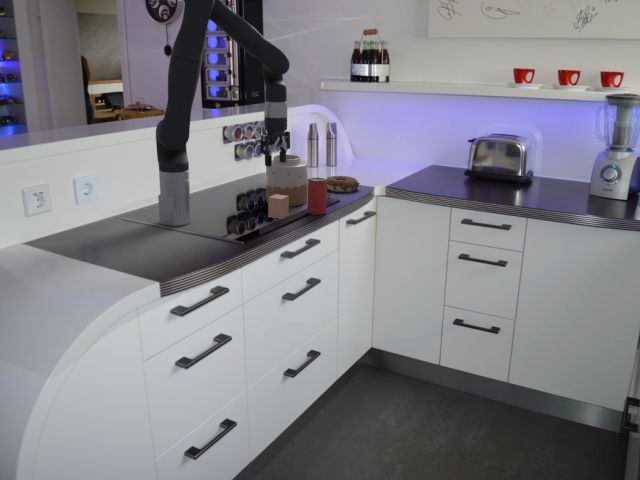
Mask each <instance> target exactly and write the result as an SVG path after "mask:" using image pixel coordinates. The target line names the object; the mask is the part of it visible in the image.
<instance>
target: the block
mask: <svg viewBox="0 0 640 480" xmlns="http://www.w3.org/2000/svg"><path fill="white" fill-rule="evenodd" d="M267 205H268V206H267V210H268V212H267V215H268V216H267V217H268V218H271V217H272V218H271V219H276V218H278V220H283V219H285V218H287V217H289V211H290V210H289V209H290V208H289V207H290V206H289V196H285V195H279V194H275V195H272V196H270V197H268V203H267Z"/></svg>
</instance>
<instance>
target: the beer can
mask: <svg viewBox="0 0 640 480" xmlns="http://www.w3.org/2000/svg"><path fill="white" fill-rule="evenodd" d="M326 179H327V178H323V177H311V178H310V179H309V182H308V183H307V212H308V214H310V215H313V216H322V215H324V214H326V213H327V201H328V199H327V198H328V189H327V183H326Z"/></svg>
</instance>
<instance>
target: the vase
mask: <svg viewBox="0 0 640 480" xmlns="http://www.w3.org/2000/svg"><path fill="white" fill-rule="evenodd" d="M308 174H309V165H308V162H307V161H304V160H302V159H301V156H300V155H297V154H296V155H295V154H286V162H285V163H282V162H280V154H277V155H274V156H273V158H272V166H270V167H268V166H265V200H266V202H267V204H268V197H270V196H272V195H275V194H279V195H285V196H289V207H297V206H302V205H305V204H306V203H308Z"/></svg>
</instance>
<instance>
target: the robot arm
mask: <svg viewBox="0 0 640 480" xmlns="http://www.w3.org/2000/svg"><path fill="white" fill-rule="evenodd" d="M183 2H184V8H183V16H182V21H181V25H180V27H179V31H178V33H177V35H176V37H175V41H174V42H173V46H172V49H171V53H170V58H169V63H168V71H167V73H168V74H167V104H166V108H165V111H164V112H165V113H164V116H163V117H164V118H163V119H161V120H160V121H159V122H158V123H157V125H156V127H155V142H156V143H155V145H156V156H157V157H156V158H157V162H158V164H157V165H158V171H159V172H158V174H159V176H158V177H159V191H160V192H159V194H158V196H157V199H158V213H159V214H158V217H159V224H160V225H165V226H170V227H174V226H175V227H178V226H186V225H188V224H190V223H191V222H192V217H191V215H192V212H191V211H192V210H191V190H190V185H191V184H190V165H189V164H190V162H189V158H188V153H187V143H188V142H189V140H190V139H189V138H190V130H191V129H190V128H191V127H190V126H191V118H192V117H191V116H192V108H193V103H194V101H195V100H194V99H195V95H196V92H197V88H198V83H199V79H200V75H201V71H202V65H203V59H204V53H205V45H206V38H207V37H206V36H207V31H208V30H207V28H208V25H209V22H210V21H211V22H212V23H214V24H215V25H216V26H218V28H220V29H221V30H222V31H223V32H224V34H227V36H229V38H231V39H232V40H233V41H234V42H235V43H236V44H237V45H238V46H239V47H241V49H243V50H244V51H245V52H246V53H247V54H249V56H251V57H253V58H256V60H258V61H259V62H261V65H262V77H263V82H264V86H265V89H264V100H265V101H264V107H263V108H264V113H263V115H264V122H263V125H264V130H265V131H266V132H267V133H266V135H264V134H261V136H260V149H259V150H260V151H259V152H260V154H263V155H264V166H265V167H266V166H268V167H270V166H272V160H273V156H272V154H273V151H274V150H276V148H278V150H279V155H280V162H282V163H285V162H286V155H287V152H288V150H289V149H291V132H290V131H288V101H287V100H288V99H287V98H288V96H287V94H288V93H287V91H288V89H287V85H286V83H284V74H285V75H286V73H287V72H288V71H289V69H290V64H291V62H290V60H289V58H288V56H287V55H286V53H284V52H283V51H282V50H281V49H280V48H279V47H277V46H276V45H274V44H273V43H272V42H270V41H269V40H267V38H265V37H264V35H262V34H261V33H260V32H259V31H258V30H257V28H255V27H254V26H253V25H252V24H250V23H249V22H248V21H247V20H245V19H244V18H242V17H241V16H240V15H238V14H237V13H235V12H234V11H232V10H231V9H230V8H229V7H228V6H227V5H225V4H224V3H223V2H222V1H221V0H183Z"/></svg>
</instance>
